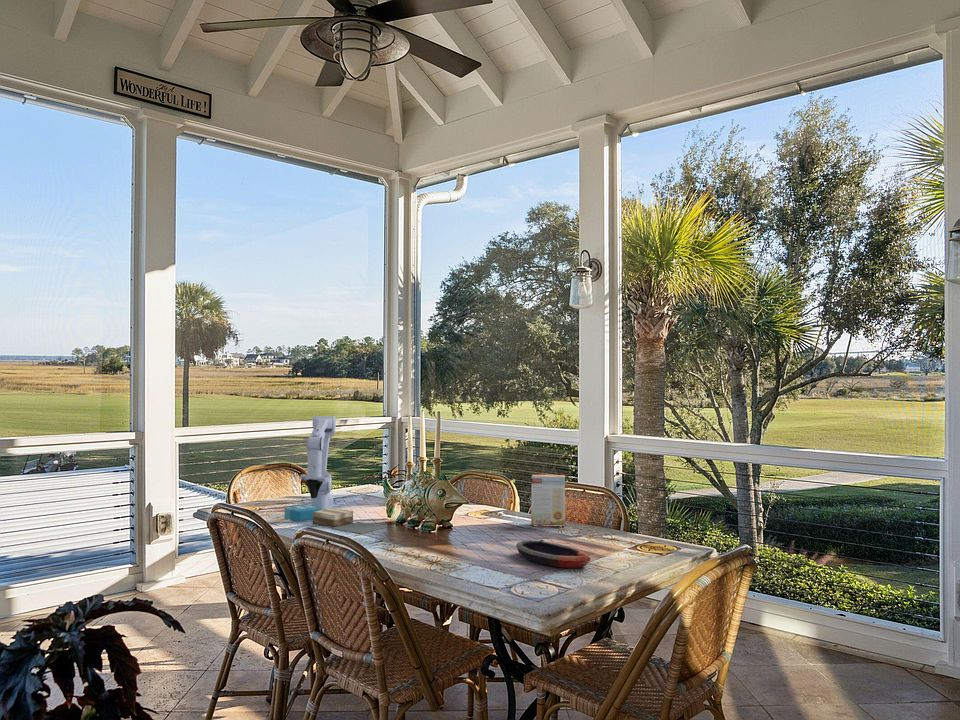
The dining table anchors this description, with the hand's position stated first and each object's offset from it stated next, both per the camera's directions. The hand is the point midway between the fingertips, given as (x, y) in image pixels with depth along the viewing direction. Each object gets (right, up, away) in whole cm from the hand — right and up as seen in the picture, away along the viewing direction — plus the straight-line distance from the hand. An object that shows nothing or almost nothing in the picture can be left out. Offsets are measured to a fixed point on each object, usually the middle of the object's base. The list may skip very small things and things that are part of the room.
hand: (313, 498), depth 310 cm
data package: (-10, -7, -1) cm, 12 cm away
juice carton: (+45, -10, +3) cm, 46 cm away
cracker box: (+98, -11, -3) cm, 99 cm away
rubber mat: (+21, -10, -14) cm, 27 cm away
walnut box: (+9, -9, -6) cm, 14 cm away
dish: (+94, -10, -62) cm, 113 cm away
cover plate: (+9, -6, -6) cm, 13 cm away
